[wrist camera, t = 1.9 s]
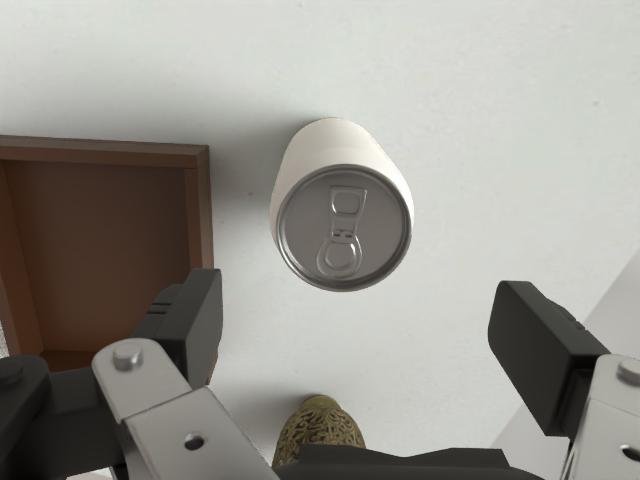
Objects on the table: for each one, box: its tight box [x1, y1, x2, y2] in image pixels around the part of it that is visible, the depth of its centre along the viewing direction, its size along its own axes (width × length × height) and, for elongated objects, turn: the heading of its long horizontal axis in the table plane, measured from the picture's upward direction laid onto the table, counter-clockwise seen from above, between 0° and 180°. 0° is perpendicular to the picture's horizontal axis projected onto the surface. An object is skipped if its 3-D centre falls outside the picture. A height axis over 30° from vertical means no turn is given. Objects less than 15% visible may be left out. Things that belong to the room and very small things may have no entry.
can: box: [269, 118, 414, 292], centre depth 24 cm, size 6×6×12 cm
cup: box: [271, 395, 366, 469], centre depth 33 cm, size 8×7×8 cm
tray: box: [0, 135, 218, 385], centre depth 30 cm, size 17×14×3 cm
